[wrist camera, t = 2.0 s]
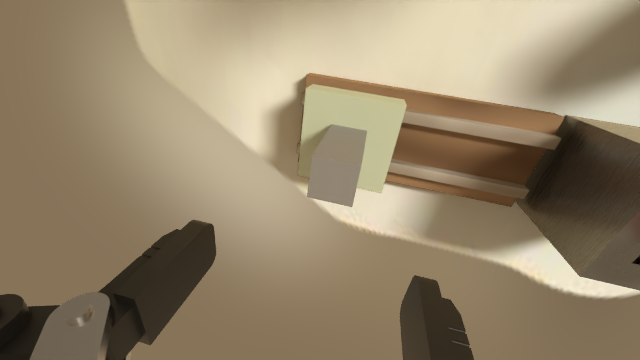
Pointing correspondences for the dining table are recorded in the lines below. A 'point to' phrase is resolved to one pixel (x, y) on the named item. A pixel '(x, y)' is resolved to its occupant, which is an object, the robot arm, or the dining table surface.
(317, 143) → the carriage
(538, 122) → the rail track
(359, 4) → the dining table surface
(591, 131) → the cabinet
